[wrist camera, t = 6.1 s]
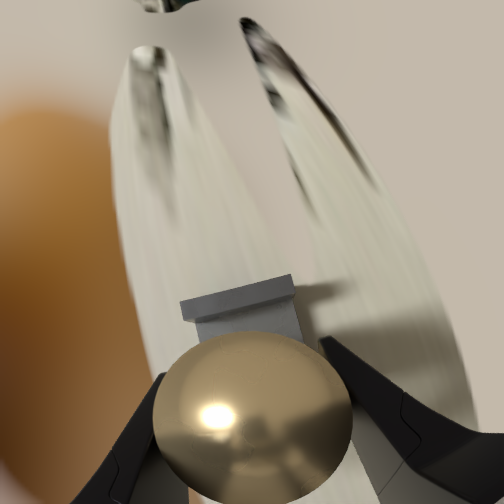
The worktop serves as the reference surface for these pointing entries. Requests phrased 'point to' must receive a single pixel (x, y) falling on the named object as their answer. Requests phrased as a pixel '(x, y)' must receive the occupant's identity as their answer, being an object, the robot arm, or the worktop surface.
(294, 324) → the press bed
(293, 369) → the ball
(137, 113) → the worktop surface
